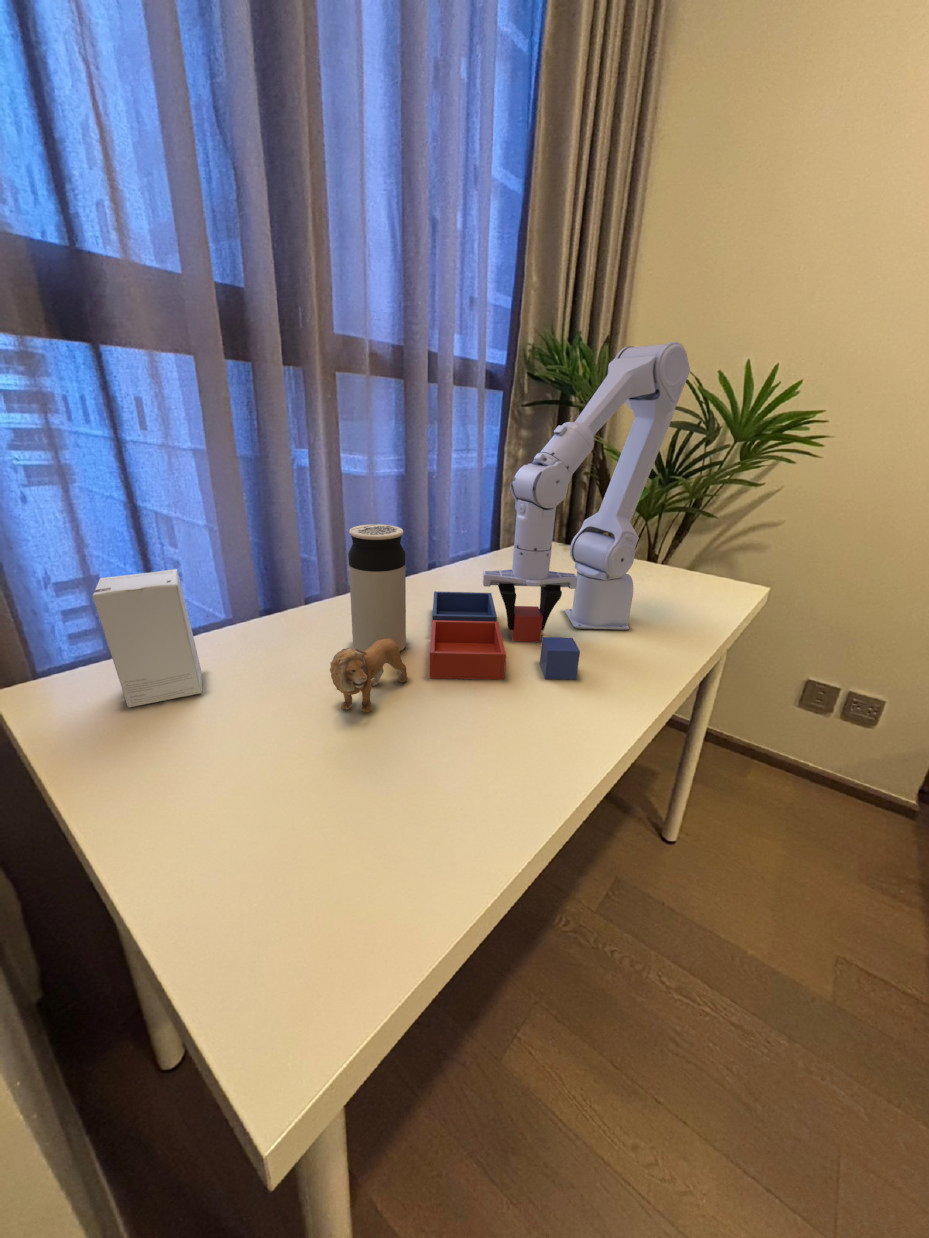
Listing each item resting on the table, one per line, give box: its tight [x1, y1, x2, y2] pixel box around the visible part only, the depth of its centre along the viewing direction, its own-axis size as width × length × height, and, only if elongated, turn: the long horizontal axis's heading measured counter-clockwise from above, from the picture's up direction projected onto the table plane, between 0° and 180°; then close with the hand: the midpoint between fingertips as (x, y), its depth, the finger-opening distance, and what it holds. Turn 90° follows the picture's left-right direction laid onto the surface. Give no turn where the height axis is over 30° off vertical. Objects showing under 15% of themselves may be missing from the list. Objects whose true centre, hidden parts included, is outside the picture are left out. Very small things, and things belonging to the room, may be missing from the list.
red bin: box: [429, 619, 507, 681], centre depth 73 cm, size 10×11×4 cm
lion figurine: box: [329, 639, 408, 713], centre depth 62 cm, size 15×5×9 cm, turn 162°
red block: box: [509, 605, 543, 643], centre depth 82 cm, size 4×4×4 cm
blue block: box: [539, 636, 581, 680], centre depth 71 cm, size 4×4×4 cm
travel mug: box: [347, 523, 407, 652], centre depth 74 cm, size 8×8×18 cm
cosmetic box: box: [92, 568, 203, 708], centre depth 60 cm, size 8×6×15 cm
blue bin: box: [431, 590, 498, 622], centre depth 85 cm, size 10×11×4 cm
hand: (525, 628), depth 82 cm, fingers closed on red block, 4 cm apart
